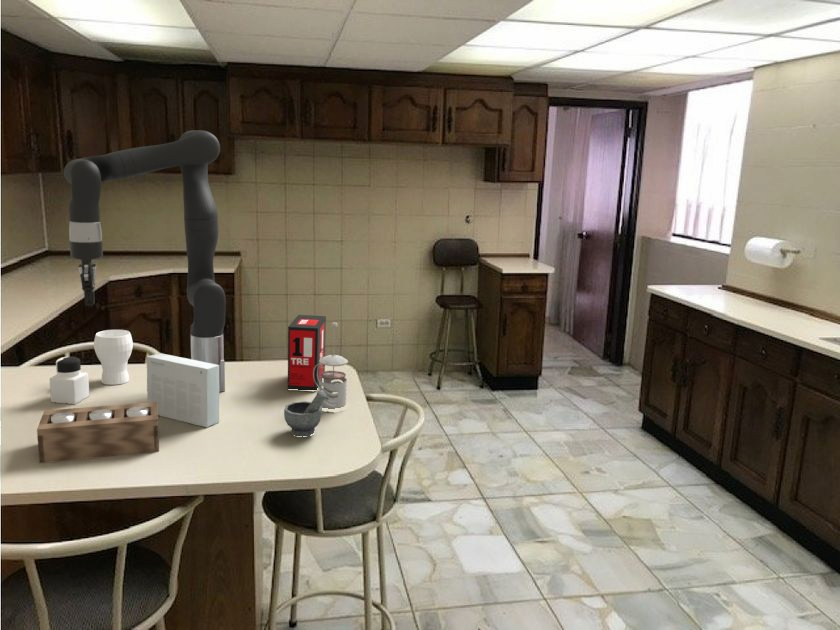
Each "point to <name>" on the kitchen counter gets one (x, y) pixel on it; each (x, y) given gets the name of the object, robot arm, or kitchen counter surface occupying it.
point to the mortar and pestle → (304, 415)
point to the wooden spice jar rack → (97, 433)
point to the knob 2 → (137, 411)
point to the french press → (328, 387)
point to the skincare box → (184, 389)
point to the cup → (113, 355)
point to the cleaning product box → (305, 351)
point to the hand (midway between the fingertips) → (89, 305)
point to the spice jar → (100, 414)
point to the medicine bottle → (69, 382)
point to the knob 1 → (62, 417)
